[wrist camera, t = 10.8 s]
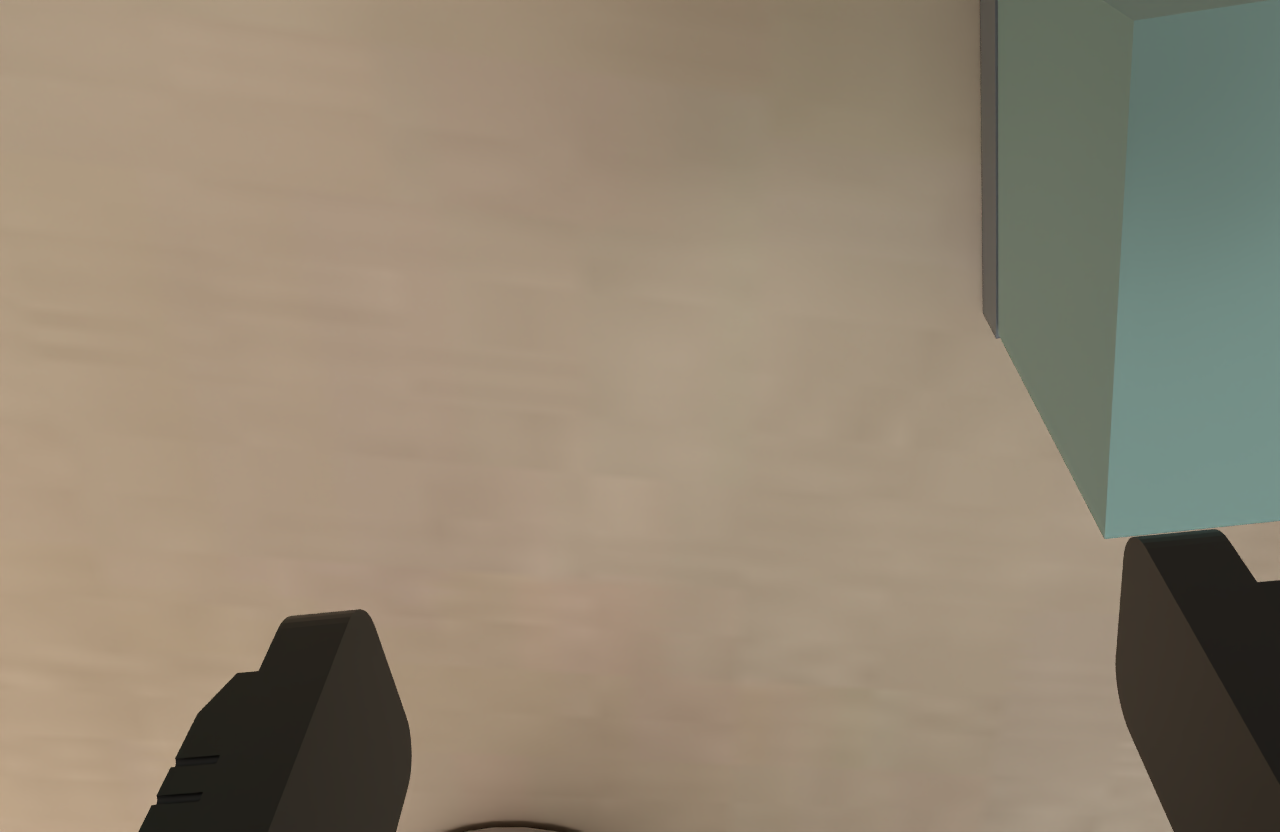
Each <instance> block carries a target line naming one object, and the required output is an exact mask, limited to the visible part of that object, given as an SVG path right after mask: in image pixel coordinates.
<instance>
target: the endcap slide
mask: <svg viewBox="0 0 1280 832" xmlns="http://www.w3.org/2000/svg"><path fill="white" fill-rule="evenodd" d="M998 334H999V336H1000V338H1001V340H1002V342H1003V344H1004V346H1005V348H1006V350H1007V352H1008V354H1009V356H1010V358H1011V360H1012V361H1013V363H1014V365H1015V367H1016V369H1017V371H1018V373H1019V375H1020V377H1021V379H1022V381H1023V383H1024V385H1025V387H1026V388H1027V390H1028V392H1029V394H1030V396H1031V398H1032V400H1033V402H1034V404H1035V406H1036V408H1037V410H1038V412H1039V413H1040V415H1041V417H1042V419H1043V421H1044V423H1045V425H1046V427H1047V429H1048V431H1049V433H1050V435H1051V437H1052V439H1053V440H1054V442H1055V444H1056V446H1057V448H1058V450H1059V452H1060V454H1061V456H1062V458H1063V460H1064V462H1065V464H1066V466H1067V467H1068V469H1069V471H1070V473H1071V475H1072V477H1073V479H1074V481H1075V483H1076V485H1077V487H1078V489H1079V491H1080V492H1081V494H1082V496H1083V498H1084V500H1085V502H1086V504H1087V506H1088V508H1089V510H1090V512H1091V514H1092V516H1093V518H1094V519H1095V521H1096V523H1097V525H1098V527H1099V529H1100V531H1101V533H1102V535H1103V537H1104V539H1109V538H1119V537H1128V536H1138V535H1148V534H1157V533H1167V532H1176V531H1186V530H1196V529H1205V528H1215V527H1225V526H1234V525H1244V524H1253V523H1263V522H1273V521H1280V0H998Z"/></svg>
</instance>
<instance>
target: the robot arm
mask: <svg viewBox="0 0 1280 832" xmlns="http://www.w3.org/2000/svg"><path fill="white" fill-rule="evenodd" d="M1116 680H1117V688H1118V694H1119V699H1120V704H1121V708H1122V712H1123V715H1124V719H1125V721H1126V724H1127V727H1128V730H1129V732H1130V734H1131V737H1132V739H1133V741H1134V743H1135V746H1136V748H1137V750H1138V752H1139V755H1140V757H1141V759H1142V761H1143V764H1144V766H1145V768H1146V770H1147V773H1148V775H1149V777H1150V779H1151V782H1152V784H1153V786H1154V788H1155V791H1156V793H1157V795H1158V797H1159V800H1160V802H1161V804H1162V806H1163V809H1164V811H1165V813H1166V815H1167V818H1168V820H1169V822H1170V824H1171V827H1172V829H1173V831H1174V832H1280V580H1278V581H1267V582H1257V581H1256V580H1255V578H1254V577H1253V575H1252V574H1251V572H1250V571H1249V570H1248V568H1247V567H1246V565H1245V564H1244V562H1243V561H1242V559H1241V558H1240V556H1239V555H1238V553H1237V552H1236V550H1235V549H1234V547H1233V546H1232V544H1231V543H1230V541H1229V540H1228V539H1227V537H1226V536H1225V535H1224V534H1223V533H1222V532H1220V531H1218V530H1215V529H1211V530H1201V531H1190V532H1180V533H1170V534H1159V535H1149V536H1138V537H1132V538H1130V539H1129V540H1128V542H1127V544H1126V547H1125V551H1124V559H1123V571H1122V584H1121V597H1120V610H1119V623H1118V636H1117V649H1116ZM411 757H412V754H411V737H410V730H409V725H408V721H407V718H406V715H405V712H404V709H403V706H402V703H401V700H400V697H399V694H398V692H397V689H396V686H395V683H394V680H393V677H392V674H391V671H390V669H389V666H388V663H387V660H386V657H385V654H384V651H383V648H382V646H381V643H380V640H379V637H378V634H377V631H376V628H375V626H374V623H373V621H372V619H371V617H370V616H369V615H368V613H367V612H365V611H364V610H361V609H359V610H348V611H338V612H328V613H317V614H307V615H297V616H290V617H287V618H286V619H284V621H283V622H282V623H281V624H280V626H279V628H278V630H277V632H276V634H275V637H274V639H273V641H272V643H271V645H270V647H269V650H268V652H267V654H266V656H265V658H264V661H263V663H262V665H261V667H260V669H259V671H256V672H245V673H237V674H236V675H235V676H234V677H233V678H232V679H231V680H230V681H229V682H228V683H227V684H226V685H225V686H224V687H223V688H222V689H221V690H220V691H219V692H218V693H217V694H216V695H215V696H214V697H213V699H212V700H211V701H210V702H209V703H208V704H207V705H206V706H205V707H204V708H203V709H202V710H201V711H200V712H199V713H198V714H197V716H196V718H195V720H194V722H193V724H192V726H191V728H190V730H189V732H188V734H187V736H186V738H185V740H184V742H183V744H182V746H181V748H180V750H179V752H178V754H177V756H176V758H175V759H176V766H175V767H171V768H170V770H169V772H168V774H167V776H166V778H165V780H164V782H163V784H162V786H161V788H160V790H159V792H158V794H157V804H156V805H152V806H151V808H150V810H149V812H148V814H147V816H146V818H145V820H144V822H143V824H142V826H141V828H140V830H139V832H396V830H397V826H398V822H399V819H400V815H401V811H402V807H403V804H404V800H405V796H406V792H407V789H408V784H409V780H410V773H411ZM466 832H557V831H550V830H542V829H535V828H527V827H493V828H485V829H479V830H473V831H466Z"/></svg>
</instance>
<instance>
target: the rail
mask: <svg viewBox="0 0 1280 832" xmlns="http://www.w3.org/2000/svg"><path fill="white" fill-rule="evenodd" d="M980 44H981V153H982V262H983V314H984V316H985V318H986V320H987V322H988V324H989V326H990V328H991V330H992V332H993V333H994V335H995V337H996V339H997V338H1000V336H999V334H998V0H980Z"/></svg>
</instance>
